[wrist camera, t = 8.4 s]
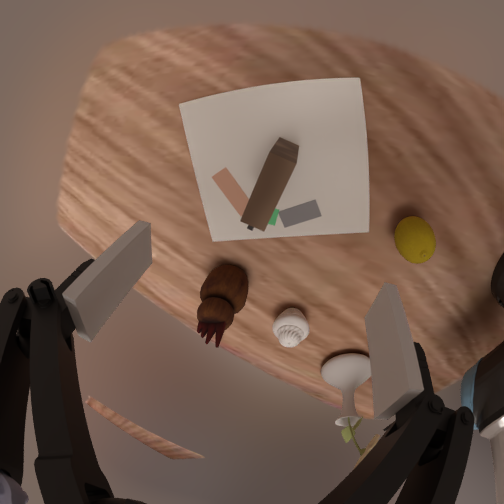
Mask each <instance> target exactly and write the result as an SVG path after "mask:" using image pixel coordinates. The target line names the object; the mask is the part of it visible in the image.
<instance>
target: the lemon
mask: <svg viewBox="0 0 504 504" xmlns="http://www.w3.org/2000/svg"><path fill="white" fill-rule="evenodd" d="M394 239H395V244H396V247H397V249H398V251H399V253H400V254H401V255H402V256H403V257H404V258H405V259H406V260H407V261H409V262H411V263H416V264H418V263H423V262H425V261H427V260H428V259H430V257H431V256H432V255H433V253H434V251H435V247H436V240H435V236H434V232H433V230H432V228H431V227H430V225H429V224H428V223H427V222H426V221H425V220H423V219H422V218H419V217H416V216H410V217H406V218H404V219H403V220H401V221H400V222H399V224H398V225H397V227H396V230H395V236H394Z"/></svg>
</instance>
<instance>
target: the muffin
mask: <svg viewBox="0 0 504 504" xmlns="http://www.w3.org/2000/svg"><path fill="white" fill-rule="evenodd" d="M273 333H274V334H275V336H276V337H277V338H278V339H279V342H280V344H282V345H283V346H286V347H290V348H291V347H294V346H297V345H298V344H299V343H300V341H302V340H304V339H305V338H306V337H307V336H308V334H309V324H308V322H307V319H306V318H305V317H304V315H303V314H302V312H301V311H300V310H298V309H297V308H288V309H286V310H285V311H283V312H282V313H281V314H280V315H279V316H278V317H277V318H276V320H275V321H274V323H273Z"/></svg>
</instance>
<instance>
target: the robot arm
mask: <svg viewBox="0 0 504 504" xmlns="http://www.w3.org/2000/svg"><path fill="white" fill-rule="evenodd" d="M151 264H152V249H151V223H148V222H144V221H140V220H139V221H138V222H137V223H135V224H134V225H133V226H132V227H131V228H130V229H129V230H127V231H126V232H125V233H124V234H123V235H122V236H121V237H120V238H118V239H117V240H116V241H115V242H114V243H113V244H112V245H111V246H110V247H109V248H108V249H106V250H105V251H104V252H103V253H102V254H101V255H100V256H99V257H98V258H97V259H96V260H94V259H90V260H88V261H86V262H84V263H82V264H81V265H80V266H79V267H78V268H77V269H76V271H74V272H73V273H72V274H71V276H69V277H68V278H67V279H66V280H65V281H64V282H63V283H62V284H61V285H60V286H59V287H58V288H57V289H56V290H54V288H53V285H52V282H51V281H50V280H49V279H46V278H40V279H37V280H35V281H33V282H32V283H31V284H30V285H29V286H28V289H27V292H28V294H29V296H30V298H29V297H25V295H24V292H23V291H22V290H21V289H20V288H13V289H11V290H9V291H8V292H7V293H5V295H4V296H3V299H2V301H1V303H0V504H25V503H27V502H28V500H29V499H28V495H27V494H26V492H25V491H23V490H22V488H21V484H22V477H23V463H24V432H25V419H26V410H27V402H28V395H29V388H30V390H31V404H32V414H33V422H34V429H35V435H36V441H37V446H38V453H39V455H38V457H37V458H36V460H35V463H34V466H35V472H36V476H37V480H38V483H39V487H40V490H41V494H42V497H43V500H44V503H45V504H146V503H143V502H141V501H136V500H132V499H122V498H114V495H113V493H112V490H111V488H110V485H109V483H108V481H107V479H106V477H105V476H104V474H103V473H102V471H101V469H100V467H99V465H98V461H97V458H96V455H95V452H94V448H93V445H92V441H91V438H90V435H89V430H88V426H87V422H86V418H85V413H84V409H83V404H82V398H81V393H80V387H79V381H78V374H77V368H76V359H75V349H74V338H73V334H72V332H73V331H74V330H75V328H76V330H77V333H78V335H79V336H80V337H82V338H83V339H85V340H87V341H89V342H92V340H93V339H94V338H95V336H96V335H97V333H98V332H99V330H100V329H101V328H102V327H103V325H104V324H105V322H106V321H107V320H108V318H109V317H110V316H111V314H112V313H113V312H114V310H115V309H116V307H118V305H119V304H120V303H121V301H122V300H123V299H124V297H125V296H126V295H127V294H128V292H129V291H130V290H131V289H132V287H133V286H134V285H135V283H136V282H137V281H138V280H139V279H140V277H141V276H142V275H143V274H144V272H145V271H146V270H147V269H148V267H149V266H150V265H151ZM491 290H492V294H493V296H494V297H495V299H496V301H497V302H498V303H499V305H501V306H502V307H503V308H504V254H503V256H502V257H501V259H500V260H499V262H498V264H497V266H496V268H495V271H494V274H493V277H492V282H491ZM365 324H366V332H367V339H368V347H369V356H370V366H371V376H372V389H373V404H374V419H387V420H388V419H389V418H391V417H392V416H393V415H396V421H394V422H393V423H392V424H390V425H389V426H387V427H386V428H385V429H384V431H385V430H387V429H388V430H387V431H386V432H385V433H384V435H383V436H382V437H381V439H380V440H379V441H378V442H377V443H376V445H375V446H374V447H373V448H372V449H371V451H370V452H369V453H368V454H367V455H366V456H365V458H364V459H363V460H362V461H361V462H360V463H359V464H358V465H357V466H356V467H355V469H354V470H353V471H352V472H351V473H350V474H349V475H348V476H347V477H346V478H345V479H344V480H343V481H342V482H341V483H340V484H339V485H338V486H337V487H336V488H335V489H334V490H333V491H332V492H330V493H329V494H328V495H327V496H326V497H325V498H324V499H323V500H322V501H320V502H319V503H318V504H387V503H388V502H389V501H390V500H391V498H392V497H393V496H394V494H395V493H396V492H397V490H398V489H399V487H400V486H401V485H402V484H403V482H404V481H405V480H406V482H405V484H404V486H403V488H402V490H401V492H400V494H399V497H398V499H397V501H396V503H395V504H455V501H456V498H457V495H458V492H459V489H460V486H461V482H462V479H463V476H464V472H465V468H466V464H467V460H468V455H469V451H470V446H471V440H472V434H473V430H475V429H476V430H477V429H479V433H480V436H482V437H485V438H488V439H489V440H490V444H491V451H492V457H493V465H494V472H495V485H496V504H504V341H503V342H502V343H500V344H499V345H498V346H497V347H496V348H495V349H493V350H492V351H491V352H490V353H488V354H487V355H486V356H485V357H483V358H481V359H480V360H479V361H478V362H477V363H476V364H475V365H474V366H473V367H471V368H470V369H469V370H468V371H467V372H466V373H465V375H464V377H463V380H462V383H461V404H462V407H460V408H459V409H458V410H456V411H454V410H451V409H449V408H446V407H445V405H444V403H443V400H442V399H441V398H440V397H439V396H437V395H436V394H434V391H433V386H432V381H431V377H430V372H429V369H428V364H427V362H426V356H425V352H424V350H423V349H422V347H421V345H420V344H419V343H416V342H413V339H412V335H411V332H410V328H409V324H408V321H407V318H406V314H405V311H404V308H403V304H402V301H401V298H400V295H399V292H398V289H397V286H396V285H393V284H389V283H384V285H383V286H382V288H381V290H380V292H379V294H378V295H377V297H376V299H375V301H374V302H373V304H372V306H371V308H370V309H369V311H368V313H367V314H366V316H365ZM17 330H18V331H17ZM16 333H17V334H16ZM406 478H407V479H406Z"/></svg>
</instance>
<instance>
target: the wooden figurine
mask: <svg viewBox="0 0 504 504" xmlns="http://www.w3.org/2000/svg"><path fill="white" fill-rule="evenodd" d="M247 294H248V279H247V276H246V274H245V273H244V271H243V270H242V269H240V268H238V267H236V266H234V265H221V266H219V267H217V268H215V269H214V270H212V271H211V273H210V274H209V275H208V277H207V278H206V280H205V281H204V283H203V285H202V287H201V291H200V298H201V300H202V303H201V304H200V306H199V307H198V310H197V319H198V321H199V323H198V328H197V332H198V333H200V332H202V333H201V337H202V338H203V337H204V336H205V335H206V333H207V337H206V342H205V343H206V344H208V343H209V341H210V340H211V338H212V337H213V335H214V334H215V332H216V347H219V344H220V341H221V339H222V336H223V333H224V330H226V329H227V328H228V327H229V326H230V325H231V324H232V322H233V318H234V314H236V313H238V312H239V311H240V310H241V309H242V308H243V307H244V306H245V302H246V299H247Z"/></svg>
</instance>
